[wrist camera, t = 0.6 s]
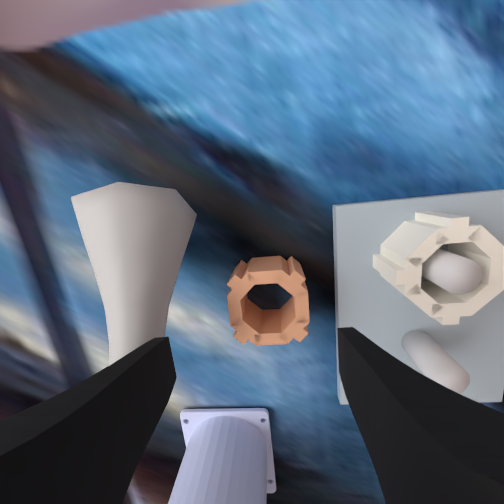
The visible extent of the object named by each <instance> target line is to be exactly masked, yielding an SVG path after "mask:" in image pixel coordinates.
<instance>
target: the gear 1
mask: <svg viewBox="0 0 504 504" xmlns="http://www.w3.org/2000/svg"><path fill="white" fill-rule="evenodd" d="M305 280H306V278H305V276H304V273H303V270H302V267H301V264H300V263H299V262H298V261H297V260H295V259H294V258H293V257H292V256H291V257H290V258H289V259H288V260H287V261H286V260H285V259H284V258H283V257H281V256H269V257H256V258H251V260H250V261H249V262H248V263H245V262H244V261H243V260H241V261H240V263H239V264H238V265H237V266H236V267H235V269H234V271H233V273H232V275H231V277H230V279H229V281H228V283H227V285H228V286H229V287H230V290H229V292H228V294H227V302H228V309H229V317H230V325H231V327H233V328H234V329H235V333H234V336H233V337H235V338H236V339H237V340H238V341H240V342H241V343H242V344H245V343H246V342H247V341H248V340H249V341H251V342H252V343H253V344H254V345H276V344H288V343H289V342H290V341H291V340H292V339H293V338H295V339H296V340H297V341H298V342H300V341H301V340H302V339H303V338H305V337H306V336H307V335H308V334H309V332H308V328H307V324H308V323H309V322H310V321H309V302H308V290H307V287H306V284H305ZM272 283H278V284H279V285H280V286H281V287H283V288H284V289H285V290H286V291H287V292H289V293H290V294H291V295H292V297H291V298H290V299H289V300H288V301H287V302H286V303H285V304H284V305H283V306H282V307H281V308H280V309H267V310H262V309H260V308H259V307H258V306H256V305H255V304H254V303H253V302H251V301H250V300H249V299H248V295H247V292H248V291H249V290H250V289H251V288H252V287H253V286H254V285H257V284H272Z"/></svg>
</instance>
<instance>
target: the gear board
mask: <svg viewBox="0 0 504 504" xmlns="http://www.w3.org/2000/svg"><path fill="white" fill-rule="evenodd" d="M425 211H433V212H439V213H446V214H453V215H460V216H467V217H469V223H472V224H477V225H482V226H483V227H484V228H485V229H486V230H487V231H488V232H489V233H490V234H492V235H493V236H494V237H495V238H496V239H497V240H498V241H499V242H500V243H501V244H502V245H503V246H504V189H497V190H487V191H476V192H465V193H455V194H444V195H434V196H423V197H412V198H402V199H391V200H381V201H370V202H359V203H349V204H338V205H333V240H334V278H335V316H336V353H337V391H338V398H339V401H340V404H349V403H348V400H347V398H346V395H345V392H344V388H343V385H342V381H341V377H340V374H339V361H338V333H337V328H344V327H354V328H355V329H356V330H358V331H359V332H360V333H362V334H363V335H364V336H366V337H367V338H368V339H370V340H371V341H373V342H374V343H375V344H377V345H378V346H379V347H381V348H382V349H384V350H385V351H386V352H388V353H389V354H391V355H392V356H394V357H395V358H397V359H398V360H400V361H401V362H403V363H405V364H406V365H408V366H409V367H411V368H412V369H414V370H416V371H417V372H419V373H421V374H423V375H424V376H426V377H428V378H430V379H432V380H433V381H435V382H437V383H439V384H441V385H443V386H445V387H447V388H449V389H451V390H453V391H455V392H457V393H459V394H461V395H463V396H465V397H467V398H469V399H472V400H474V401H476V402H502V397H503V390H504V290H503V291H502V292H500V293H499V294H498V295H497V296H496V297H494V298H493V299H492V300H491V301H489V302H488V303H487V304H486V305H484V306H483V307H482V308H481V309H480V310H478V311H477V312H476V313H475V314H473V315H472V316H460V320H459V324H456V325H442V324H440V323H439V322H438V321H437V320H435V319H434V318H431V317H430V316H428V315H427V314H426V313H425V312H424V311H422V310H421V309H420V308H419V307H418V306H416V305H415V304H414V303H413V302H411V301H410V300H409V299H408V298H407V297H405V296H404V295H403V294H402V293H401V292H399V291H398V290H397V289H396V288H395V287H394V286H392V285H391V284H390V283H389V282H388V281H387V280H385V279H384V278H383V277H382V276H381V275H380V272H378V271H377V270H376V269H375V268H373V254H380V245H381V244H382V243H383V242H384V241H385V240H386V239H387V238H388V237H389V236H390V235H391V234H392V233H393V232H394V231H395V230H396V229H397V228H398V227H399V226H400V225H401V224H402V223H403V222H404V221H409V220H415V212H425ZM481 279H482V269H481V267H480V265H479V264H478V263H477V262H475V261H473V260H471V259H468V258H465V257H462V256H460V255H457V254H454V253H451V252H448V244H443V245H442V246H441V247H440V248H439V249H437V250H436V251H435V252H434V253H433V254H432V255H431V256H430V257H429V258H428V259H427V260H426V261H424V262H423V263H422V276H421V281H431V282H433V283H435V284H436V285H438V286H440V287H441V288H443V289H445V290H446V291H448V292H450V293H452V294H465V293H468V292H470V291H472V290H474V289H475V288H476V287H477V286H478V285H479V283H480V281H481Z"/></svg>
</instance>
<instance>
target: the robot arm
mask: <svg viewBox="0 0 504 504" xmlns="http://www.w3.org/2000/svg"><path fill="white" fill-rule="evenodd" d="M337 333H338V361H339V374H340V377H341V381H342V385H343V388H344V392H345V395H346V398H347V400H348V403H349V405H350V408H351V410H352V413H353V415H354V418H355V420H356V423H357V425H358V427H359V430H360V432H361V435H362V437H363V440H364V442H365V445H366V447H367V449H368V452H369V454H370V457H371V459H372V462H373V465H374V468H375V470H376V473H377V476H378V479H379V483H380V486H381V489H382V492H383V495H384V498H385V502H386V504H504V413H501V412H499V411H497V410H494V409H492V408H489V407H487V406H485V405H483V404H480V403H478V402H476V401H474V400H472V399H469V398H467V397H465V396H463V395H461V394H459V393H457V392H455V391H453V390H451V389H449V388H447V387H445V386H443V385H441V384H439V383H437V382H435V381H433V380H432V379H430V378H428V377H426V376H424V375H423V374H421V373H419V372H417V371H416V370H414V369H412V368H411V367H409V366H408V365H406V364H405V363H403V362H401V361H400V360H398V359H397V358H395V357H394V356H392V355H391V354H389V353H388V352H386V351H385V350H384V349H382V348H381V347H379V346H378V345H377V344H375V343H374V342H373V341H371V340H370V339H368V338H367V337H366V336H364V335H363V334H362V333H360V332H359V331H358V330H356V329H355V328H354V327H344V328H337ZM175 381H176V372H175V367H174V362H173V357H172V352H171V347H170V342H169V338H168V337H157V338H153V339H151V340H149V341H148V342H146V343H144V344H143V345H141V346H139V347H138V348H136V349H135V350H133V351H132V352H130V353H128V354H127V355H125V356H124V357H122V358H121V359H119V360H117V361H116V362H114V363H113V364H111V365H109V366H108V367H106V368H104V369H103V370H101V371H99V372H98V373H96V374H94V375H93V376H91V377H89V378H88V379H86V380H84V381H83V382H81V383H79V384H77V385H75V386H73V387H72V388H70V389H68V390H66V391H64V392H62V393H60V394H58V395H56V396H54V397H52V398H50V399H48V400H46V401H44V402H41V403H39V404H37V405H35V406H33V407H30V408H28V409H26V410H24V411H22V412H19V413H17V414H15V415H13V416H10V417H8V418H5V419H3V420H0V504H122V502H123V499H124V497H125V494H126V492H127V489H128V487H129V484H130V481H131V479H132V476H133V474H134V471H135V469H136V467H137V465H138V462H139V460H140V458H141V456H142V454H143V452H144V450H145V448H146V446H147V444H148V442H149V440H150V438H151V436H152V434H153V432H154V430H155V428H156V426H157V424H158V422H159V420H160V418H161V415H162V413H163V411H164V409H165V407H166V405H167V403H168V401H169V398H170V395H171V393H172V390H173V387H174V384H175ZM262 418H264V419H262ZM180 419H181V424H182V429H183V434H184V439H185V444H186V448H187V449H186V452H185V455H184V457H183V460H182V463H181V466H180V469H179V472H178V475H177V478H176V481H175V484H174V487H173V490H172V493H171V496H170V499H169V502H168V504H266V496H267V493H274V492H275V491H276V478H275V469H274V459H273V449H272V440H271V430H270V420H269V412H268V410H267V409H265V408H227V409H184V410H182V412H181V414H180ZM186 419H187V420H186Z"/></svg>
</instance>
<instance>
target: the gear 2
mask: <svg viewBox="0 0 504 504" xmlns="http://www.w3.org/2000/svg"><path fill="white" fill-rule="evenodd" d="M443 244H448V252H451V253H454V254H457V255H460V256H462V257H465V258H468V259H471V260H473V261H475V262H477V263H478V264H479V265H480V267H481V269H482V279H481V281H480V283H479V285H478V286H477V287H476V288H475V289H474V290H472V291H470V292H468V293H465V294H452V293H450V292H448V291H446V290H445V289H443V288H441V287H440V286H438V285H436V284H435V283H433V282H431V281H421V276H422V263H423V262H424V261H426V260H427V259H428V258H429V257H430V256H431V255H432V254H433V253H434V252H435V251H436V250H437V249H439V248H440V247H441V246H442V245H443ZM373 268H375V269H376V270H377V271H378V272H380V275H381V276H382V277H383V278H384V279H385V280H387V281H388V282H389V283H390V284H391V285H392V286H394V287H395V288H396V289H397V290H398V291H399V292H401V293H402V294H403V295H404V296H405V297H407V298H408V299H409V300H410V301H411V302H413V303H414V304H415V305H416V306H418V307H419V308H420V309H421V310H422V311H424V312H425V313H426V314H427V315H428V316H430V317H431V318H434V319H435V320H437V321H438V322H439V323H440V324H442V325H456V324H459V320H460V316H472V315H473V314H475V313H476V312H477V311H478V310H480V309H481V308H482V307H483V306H484V305H486V304H487V303H488V302H489V301H491V300H492V299H493V298H494V297H496V296H497V295H498V294H499V293H500V292H502V291H503V290H504V246H503V245H502V244H501V243H500V242H499V241H498V240H497V239H496V238H495V237H494V236H493V235H492V234H490V233H489V232H488V231H487V230H486V229H485V228H484V227H483V226H482V225H477V224H472V223H469V217H467V216H460V215H453V214H446V213H439V212H433V211H425V212H415V220H409V221H404V222H403V223H402V224H401V225H400V226H399V227H398V228H397V229H396V230H395V231H394V232H393V233H392V234H391V235H390V236H389V237H388V238H387V239H386V240H385V241H384V242H383V243H382V244H381V245H380V254H373Z"/></svg>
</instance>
